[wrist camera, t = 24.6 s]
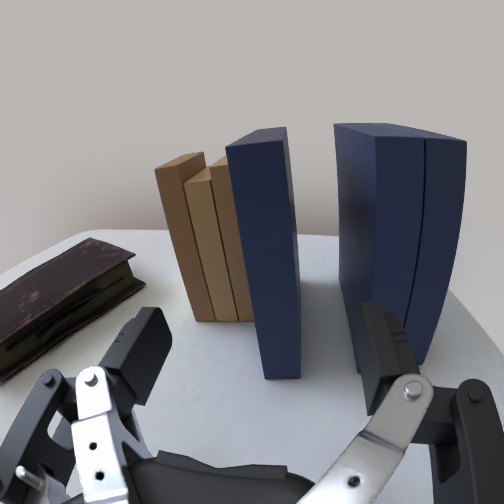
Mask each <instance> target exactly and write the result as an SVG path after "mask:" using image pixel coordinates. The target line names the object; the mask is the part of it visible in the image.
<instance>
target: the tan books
mask: <svg viewBox="0 0 504 504" xmlns="http://www.w3.org/2000/svg"><path fill="white" fill-rule="evenodd" d="M155 175H156V179H157V184H158V188H159V192H160V196H161V201H162V205H163V208H164V213H165V217H166V221H167V224H168V229H169V232H170V236H171V240H172V244H173V247H174V251H175V254H176V258H177V261H178V265H179V268H180V272H181V275H182V278H183V282H184V285H185V288H186V292H187V295H188V298H189V301H190V304H191V307H192V311H193V314H194V317H195V320H196V321H216V320H217V321H218V322H228V321H238V320H239V321H254V316H253V310H252V304H251V298H250V293H249V287H248V281H247V275H246V270H245V264H244V258H243V252H242V246H241V240H240V234H239V228H238V222H237V216H236V210H235V204H234V198H233V192H232V186H231V180H230V174H229V168H228V162H227V155H226V156H224V157H223V158H221V159H220V160H218V161H217V162H216V163H214V164H213V165H211V166H208V167H206V163H205V158H204V152H198V153H192V154H186V155H183V156H181V157H178V158H176V159H174V160H172V161H170V162H168V163H166V164H164V165H162V166H160V167H158V168H156V169H155Z"/></svg>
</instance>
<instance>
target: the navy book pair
mask: <svg viewBox="0 0 504 504" xmlns="http://www.w3.org/2000/svg"><path fill="white" fill-rule="evenodd" d="M334 135H335V147H336V161H337V177H338V198H339V199H338V201H339V280H340V284H341V289H342V293H343V298H344V302H345V307H346V312H347V317H348V322H349V327H350V332H351V337H352V343H353V348H354V354H355V360H356V366H357V372H358V373H361V369H360V363H359V358H358V352H357V347H356V328H357V320H358V311H359V304H360V302H367V301H380V303H381V306H382V309H383V312H384V313H393V314H394V315H396V316H397V317H398V318H399V319H400V320H401V322H402V325H403V327H404V330H405V333H406V335H407V338H408V342H409V343H410V346H411V349H412V352H413V355H414V357H415V360H416V363H417V365H422V364H423V362H424V359H425V357H426V354H427V352H428V349H429V346H430V344H431V341H432V338H433V335H434V332H435V329H436V327H437V323H438V320H439V317H440V314H441V311H442V307H443V304H444V300H445V297H446V293H447V289H448V286H449V282H450V277H451V273H452V269H453V264H454V259H455V255H456V249H457V244H458V239H459V233H460V226H461V219H462V212H463V203H464V193H465V179H466V158H467V157H466V156H467V142H466V141H464V140H460V139H457V138H454V137H450V136H446V135H442V134H437V133H434V132H429V131H425V130H420V129H415V128H411V127H405V126H400V125H394V124H388V123H340V124H334Z"/></svg>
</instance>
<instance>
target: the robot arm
mask: <svg viewBox="0 0 504 504" xmlns="http://www.w3.org/2000/svg"><path fill="white" fill-rule="evenodd" d="M171 346H172V334H171V332H170V329H169V327H168V324H167V322H166V319H165V317H164V314H163V312H162V310H161V309H160V308H159V307H142V308H141V309H140V311H139V312H138V314H137V315H136V317H135V318H132V319H131V320H130V321H129V322H128V323H126V324H125V325H124V326H123V328H122V329H121V331H120V332H119V335H117V337H116V338H115V340H114V342H113V343H112V345H111V346H110V348H109V349H108V351H107V352H106V354H105V355H104V357H103V359H102V360H101V362H100V363H99V365H98V366H91V367H88V368H86V369H84V370H83V371H82V372H81V373H80V374H79V375H78V377H75V378H64V376H63V375H62V374H61V372H60V371H59V370H56V369H52V370H48V371H46V372H45V373H44V374H43V375H42V376H41V377H40V378H39V380H38V381H37V383H36V385H35V386H34V388H33V389H32V391H31V393H30V394H29V396H28V398H27V399H26V401H25V403H24V404H23V406H22V408H21V410H20V411H19V413H18V415H17V417H16V419H15V420H14V422H13V424H12V426H11V428H10V430H9V431H8V433H7V435H6V437H5V439H4V441H3V443H2V445H1V447H0V501H1V502H3V503H4V504H372V502H373V501H374V500H375V498H376V497H377V496H378V494H379V493H380V492H381V490H382V489H383V487H384V486H385V485H386V483H387V482H388V480H389V479H390V477H391V476H392V474H393V473H394V471H395V470H396V468H397V466H398V465H399V463H400V462H401V460H402V458H403V456H404V454H405V451H406V449H407V447H408V445H409V443H418V444H429V451H430V459H431V469H432V481H433V498H434V504H504V432H503V428H502V425H501V421H500V418H499V414H498V411H497V408H496V405H495V402H494V399H493V396H492V393H491V390H490V388H489V387H488V385H487V384H486V383H484V382H483V381H481V380H478V379H468V380H466V381H464V382H463V383H461V384H460V386H459V387H458V389H454V388H442V387H436V386H433V385H432V384H431V382H430V381H429V380H428V379H427V378H425V377H424V376H422V375H421V374H420V372H419V369H418V366H417V363H416V360H415V357H414V355H413V352H412V349H411V346H410V343H409V342H408V338H407V335H406V333H405V330H404V327H403V325H402V322H401V320H400V319H399V318H398V317H397V316H396V315H394V314H393V313H384V312H383V309H382V306H381V303H380V301H367V302H360V304H359V311H358V320H357V328H356V347H357V352H358V358H359V363H360V369H361V375H362V382H363V388H364V395H365V402H366V409H367V416H369V415H373V417H372V418H371V420H370V421H369V422H368V424H367V425H366V427H365V428H364V429H363V430H362V431H360V432H359V433H358V434H357V435H356V436H355V438H354V439H353V440H352V441H351V443H350V444H349V445H348V447H347V448H346V449H345V450H344V452H343V453H342V454H341V455H340V457H339V458H338V459H337V460H336V461H335V463H334V464H333V465H332V466H331V467H330V468H329V470H328V471H327V472H326V473H325V474H324V475H323V476H322V477H321V479H320V480H319V481H318V482H317V483H316V484H315V483H314V482H312V481H311V480H309V479H307V478H305V477H302V476H300V475H297V474H293V473H289V472H288V471H287V466H282V465H256V464H251V465H244V466H236V467H227V468H215V467H212V466H209V465H207V464H204V463H202V462H200V461H197V460H195V459H193V458H190V457H188V456H184V455H179V454H174V453H170V452H165V451H161V450H159V452H158V454H157V457H152V455H151V453H150V452H149V451H148V449H147V447H146V445H145V442H144V440H143V437H142V434H141V431H140V428H139V425H138V422H137V418H136V415H135V412H134V410H133V409H132V408H133V406H134V404H138V405H143V406H145V404H146V402H147V400H148V397H149V395H150V393H151V391H152V388H153V386H154V384H155V382H156V379H157V377H158V375H159V373H160V371H161V368H162V366H163V364H164V362H165V360H166V358H167V355H168V353H169V351H170V349H171ZM56 410H57V411H58V412H59V413H60V414H61V415H62V416H63V417H62V419H61V421H60V423H59V425H58V427H57V429H56V431H55V433H54V435H53V438H52V439H51V438H50V437H49V435H48V432H47V429H48V426H49V424H50V422H51V420H52V418H53V416H54V414H55V412H56ZM75 463H77V468H78V473H79V478H80V483H81V487H82V491H83V492H82V493H81V494H79V495H77V496H75V497H73V498H70V496H69V495H68V494H66V490H65V489H66V486H67V484H68V481H69V479H70V476H71V473H72V471H73V468H74V466H75Z"/></svg>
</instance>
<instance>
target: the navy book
mask: <svg viewBox="0 0 504 504" xmlns="http://www.w3.org/2000/svg"><path fill="white" fill-rule="evenodd" d="M225 149H226V155H227V162H228V168H229V174H230V180H231V186H232V192H233V198H234V204H235V210H236V216H237V222H238V228H239V234H240V240H241V246H242V252H243V258H244V264H245V270H246V275H247V281H248V287H249V293H250V298H251V304H252V310H253V316H254V321H255V327H256V333H257V338H258V344H259V349H260V355H261V361H262V366H263V372H264V377H265V379H294V378H301V303H300V272H299V256H298V242H297V229H296V218H295V206H294V195H293V184H292V175H291V164H290V156H289V147H288V138H287V131H286V127H278V128H268V129H259V130H256V131H254V132H252V133H250V134H248V135H246V136H244V137H242V138H241V139H239V140H237V141H235V142H234V143H232V144H230V145H228V146H226V147H225Z"/></svg>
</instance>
